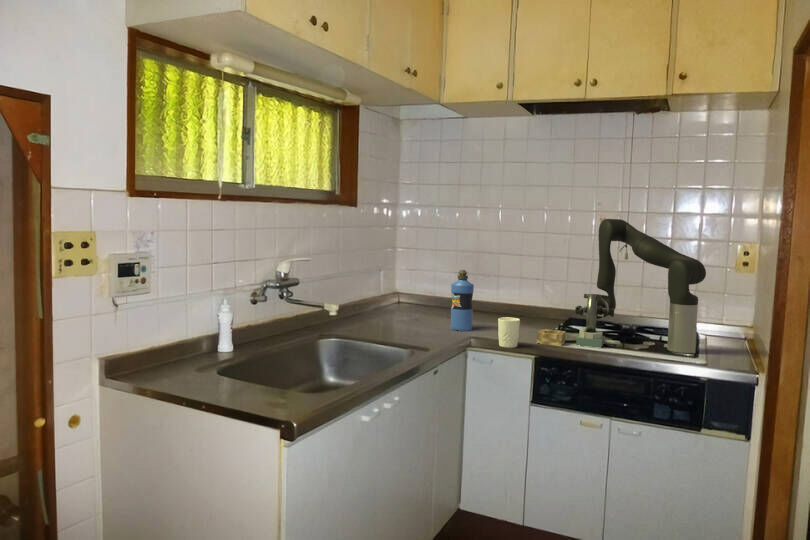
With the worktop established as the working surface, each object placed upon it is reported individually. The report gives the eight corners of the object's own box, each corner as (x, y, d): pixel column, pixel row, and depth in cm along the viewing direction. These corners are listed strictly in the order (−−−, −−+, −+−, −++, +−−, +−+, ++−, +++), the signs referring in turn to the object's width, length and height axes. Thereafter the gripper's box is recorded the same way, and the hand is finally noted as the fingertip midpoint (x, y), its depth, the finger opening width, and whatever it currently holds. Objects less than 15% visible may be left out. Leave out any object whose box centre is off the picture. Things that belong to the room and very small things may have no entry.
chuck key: (599, 336, 228) (601, 294, 226) (598, 338, 224) (600, 295, 223) (583, 335, 230) (584, 293, 229) (581, 336, 227) (583, 294, 226)
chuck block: (620, 345, 227) (621, 332, 227) (618, 349, 219) (619, 336, 219) (579, 341, 233) (580, 328, 233) (576, 345, 225) (576, 332, 225)
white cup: (514, 343, 228) (515, 317, 227) (522, 348, 220) (523, 320, 219) (494, 343, 226) (495, 317, 225) (501, 348, 218) (502, 321, 218)
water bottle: (463, 326, 261) (464, 268, 259) (477, 330, 253) (478, 270, 251) (445, 328, 256) (447, 269, 254) (459, 332, 248) (461, 271, 246)
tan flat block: (565, 341, 233) (565, 331, 232) (561, 345, 225) (561, 335, 224) (541, 339, 236) (542, 329, 236) (536, 343, 228) (537, 332, 228)
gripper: (580, 297, 246) (573, 302, 231) (617, 300, 240) (612, 305, 226) (579, 316, 247) (572, 321, 232) (616, 318, 241) (611, 325, 226)
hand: (592, 313), depth 229 cm, fingers open, 8 cm apart
